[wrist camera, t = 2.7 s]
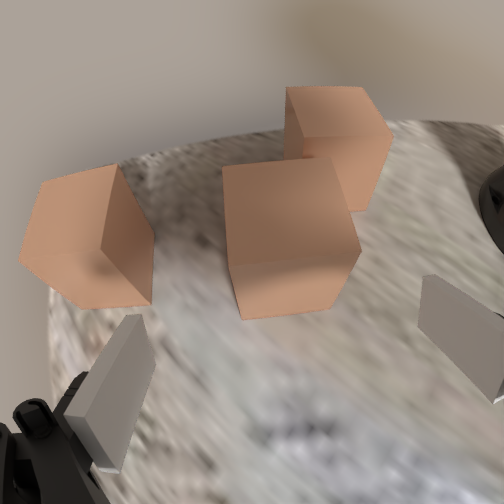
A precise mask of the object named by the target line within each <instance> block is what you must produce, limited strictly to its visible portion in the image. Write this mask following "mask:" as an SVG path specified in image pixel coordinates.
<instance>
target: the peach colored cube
mask: <svg viewBox="0 0 504 504" xmlns="http://www.w3.org/2000/svg"><path fill="white" fill-rule="evenodd" d="M285 104H286V105H285V132H284V157H283V160H293V159H308V158H326V157H330V158H331V160H332V163H333V166H334V168H335V171H336V174H337V177H338V179H339V182H340V185H341V188H342V191H343V194H344V197H345V200H346V202H347V205H348V208H349V212H353V211H365V210H366V209H367V206H368V204H369V201H370V199H371V196H372V194H373V191H374V189H375V186H376V184H377V181H378V178H379V176H380V173H381V171H382V168H383V165H384V163H385V160H386V157H387V154H388V152H389V149H390V146H391V143H392V140H393V137H394V136H393V134H392V132H391V131H390V129H389V127H388V126H387V124H386V122H385V121H384V119H383V118H382V116H381V114H380V113H379V111H378V110H377V108H376V107H375V105H374V104H373V102H372V101H371V99H370V98H369V96H368V95H367V93H366V92H365V90H364V89H363V88H362V87H339V86H305V87H304V86H303V87H286V103H285Z"/></svg>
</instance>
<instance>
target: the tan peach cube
mask: <svg viewBox="0 0 504 504" xmlns="http://www.w3.org/2000/svg"><path fill="white" fill-rule="evenodd" d="M154 239H155V233H154V232H153V230H152V228H151V226H150V224H149V223H148V221H147V219H146V217H145V215H144V213H143V211H142V210H141V208H140V206H139V204H138V202H137V200H136V198H135V196H134V194H133V192H132V191H131V189H130V187H129V185H128V183H127V181H126V179H125V177H124V175H123V173H122V171H121V169H120V167H119V165H118V163H117V164H113V165H108V166H104V167H99V168H95V169H91V170H86V171H82V172H78V173H74V174H71V175H67V176H63V177H59V178H55V179H52V180H48V181H45V182H43V183H42V185H41V188H40V191H39V193H38V196H37V199H36V202H35V205H34V208H33V211H32V214H31V217H30V220H29V223H28V227H27V230H26V233H25V237H24V240H23V244H22V248H21V251H20V256H19V259H18V261H19V262H20V263H21V264H23V265H24V266H25V267H26V268H28V269H29V270H30V271H31V272H33V273H34V274H35V275H36V276H37V277H39V278H40V279H41V280H43V281H44V282H45V283H46V284H48V285H49V286H50V287H52V288H53V289H54V290H56V291H57V292H58V293H60V294H61V295H62V296H64V297H65V298H67V299H68V300H69V301H71V302H72V303H74V304H75V305H76V306H78V307H79V308H81V309H100V308H117V307H132V306H146V305H151V304H152V274H153V255H154Z"/></svg>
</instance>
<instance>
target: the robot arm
mask: <svg viewBox="0 0 504 504" xmlns="http://www.w3.org/2000/svg"><path fill="white" fill-rule="evenodd" d="M479 203H480V209H481V213H482V216H483V219H484V222H485V224H486V226H487V228H488V230H489V232H490V234H491V236H492V238H493V239H494V241H495V242H496V244H497V245H498V247H499V248H500V249H501V251H502V252H503V253H504V165H503V166H501V167H500V168H498V169H497V170H495V171H494V172H492V173H491V174H490V175H489V177H488V178H487V180H486V181H485V183H484V184H483V186H482V187H481V190H480V195H479ZM417 327H418V328H419V329H420V330H421V331H422V332H423V333H424V334H425V335H426V336H428V337H429V338H430V339H431V340H432V341H433V342H434V343H435V344H436V345H437V346H438V347H439V348H440V349H441V350H442V351H443V352H444V353H445V354H446V355H447V356H448V357H449V358H450V359H451V360H452V361H453V362H454V364H455V365H456V366H457V367H458V368H459V369H460V370H461V371H462V372H463V373H464V374H465V375H466V376H467V377H468V378H469V379H470V380H471V381H472V382H473V383H474V384H475V385H476V386H477V387H478V389H479V390H480V391H481V392H482V393H483V394H484V395H485V396H486V397H487V398H488V399H489V400H490V401H491V403H492V404H494V403H496V402H497V401H499V400H501V399H503V398H504V317H503V316H502V315H500V314H498V313H495V312H493V311H491V310H490V309H488V308H487V307H485V306H484V305H482V304H481V303H479V302H478V301H476V300H475V299H473V298H472V297H470V296H469V295H467V294H466V293H464V292H462V291H461V290H459V289H458V288H456V287H455V286H453V285H451V284H450V283H448V282H447V281H445V280H443V279H442V278H440V277H439V276H437V275H435V274H434V275H429V276H424V277H423V281H422V292H421V302H420V311H419V319H418V326H417ZM155 367H156V363H155V359H154V356H153V353H152V350H151V346H150V343H149V339H148V336H147V332H146V329H145V325H144V322H143V318H142V314H135V315H126V316H125V317H124V319H123V320H122V322H121V323H120V325H119V326H118V328H117V329H116V331H115V332H114V334H113V335H112V337H111V338H110V340H109V341H108V343H107V345H106V346H105V348H104V349H103V351H102V352H101V354H100V355H99V357H98V358H97V360H96V362H95V363H94V365H93V366H92V368H91V370H90V371H89V372H84V371H83V372H82V373H81V374H79V375H78V376H77V377H76V378H75V379H74V380H73V381H72V383H71V384H70V386H69V387H68V388H69V389H67V390H66V392H65V394H64V396H63V397H62V398H61V400H60V401H59V403H58V405H57V406H56V408H55V409H54V411H53V413H52V412H51V410H50V408H49V406H48V405H47V403H46V402H45V401H44V400H42V399H38V398H33V399H30V400H26V401H24V402H22V403H21V404H20V405H18V406H17V407H16V409H15V411H14V412H13V419H14V421H15V422H16V424H17V425H18V427H19V428H20V430H21V431H22V433H13V434H12V433H11V432H10V431H9V429H8V428H7V426H6V425H5V424H3V423H0V504H110V502H109V500H108V499H107V497H106V495H105V494H104V492H103V490H102V489H101V487H100V485H99V483H98V481H97V480H96V478H95V476H94V474H93V473H92V472H91V470H90V467H91V465H92V462H94V463H95V465H96V466H97V467H98V469H99V470H100V471H103V472H110V473H118V474H120V472H121V469H122V466H123V462H124V459H125V456H126V453H127V449H128V446H129V443H130V440H131V437H132V434H133V431H134V428H135V425H136V422H137V419H138V416H139V413H140V410H141V407H142V404H143V401H144V398H145V395H146V392H147V389H148V386H149V383H150V381H151V378H152V375H153V372H154V369H155Z"/></svg>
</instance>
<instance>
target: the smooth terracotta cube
mask: <svg viewBox="0 0 504 504" xmlns="http://www.w3.org/2000/svg"><path fill="white" fill-rule="evenodd" d="M222 178H223V195H224V211H225V226H226V241H227V255H228V267H229V271H230V275H231V279H232V283H233V287H234V291H235V295H236V299H237V303H238V307H239V310H240V314H241V318H242V320H249V319H258V318H267V317H275V316H284V315H292V314H299V313H307V312H314V311H321V310H328V309H330V308H331V306H332V305H333V303H334V301H335V300H336V298H337V296H338V294H339V292H340V291H341V289H342V287H343V285H344V283H345V282H346V280H347V278H348V276H349V274H350V272H351V271H352V269H353V267H354V265H355V263H356V261H357V259H358V257H359V255H360V254H361V252H362V250H361V247H360V243H359V240H358V237H357V234H356V230H355V227H354V224H353V221H352V218H351V215H350V212H349V208H348V205H347V202H346V200H345V197H344V194H343V191H342V188H341V185H340V182H339V179H338V177H337V174H336V171H335V168H334V166H333V163H332V160H331V158H330V157H326V158H308V159H293V160H280V161H268V162H258V163H248V164H238V165H229V166H222Z"/></svg>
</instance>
